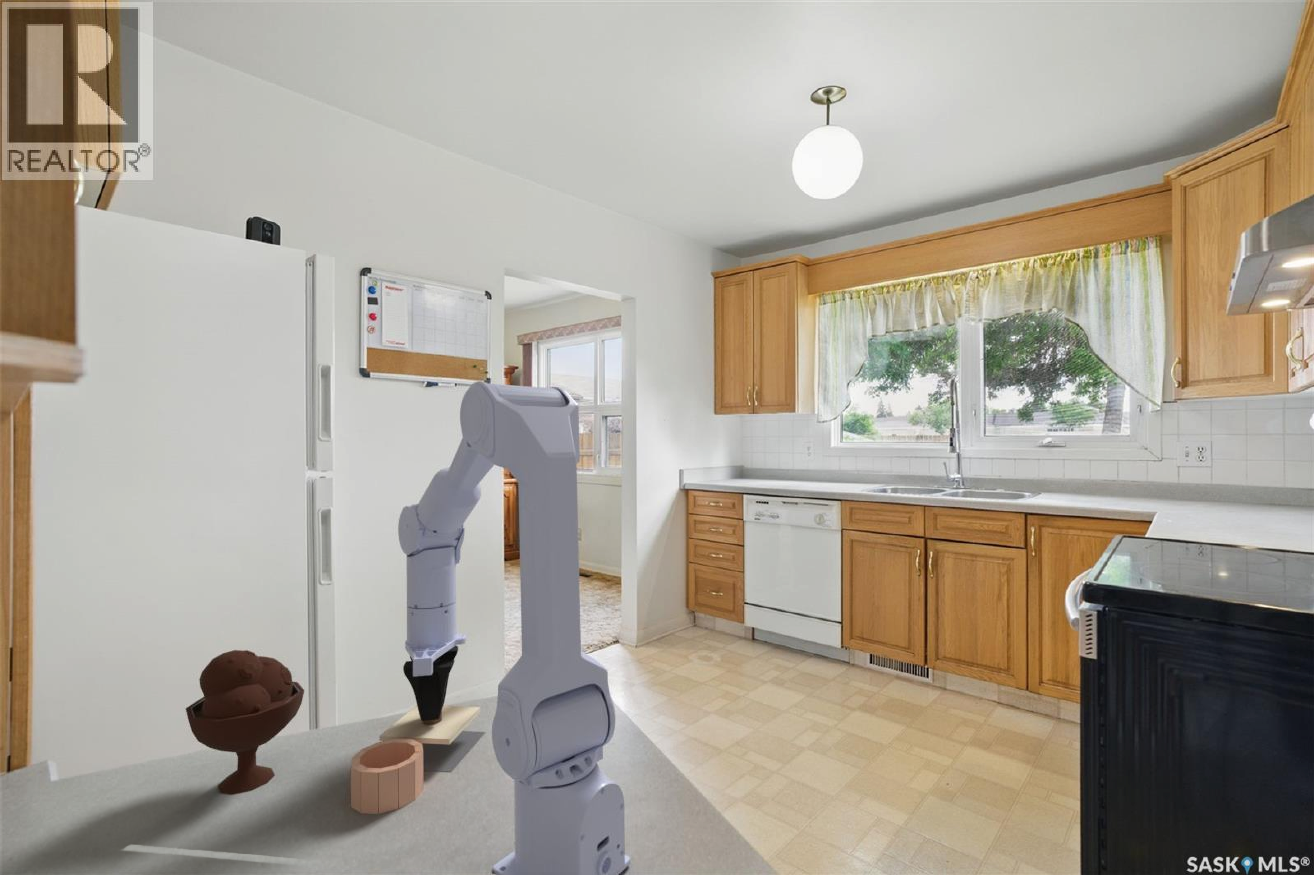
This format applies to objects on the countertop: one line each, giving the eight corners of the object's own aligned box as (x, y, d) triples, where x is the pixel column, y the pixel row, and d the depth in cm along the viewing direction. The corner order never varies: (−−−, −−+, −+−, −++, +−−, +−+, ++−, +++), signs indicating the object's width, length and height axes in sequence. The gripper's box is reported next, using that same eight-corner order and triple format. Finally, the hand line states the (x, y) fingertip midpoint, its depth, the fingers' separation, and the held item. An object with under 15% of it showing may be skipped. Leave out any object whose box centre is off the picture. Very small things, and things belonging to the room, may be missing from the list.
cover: (480, 712, 78) (480, 682, 78) (449, 744, 69) (449, 711, 70) (417, 709, 79) (417, 680, 79) (379, 741, 71) (379, 708, 71)
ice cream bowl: (248, 818, 61) (248, 669, 61) (158, 806, 63) (158, 662, 64) (325, 764, 72) (325, 637, 72) (245, 755, 74) (246, 632, 74)
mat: (485, 735, 78) (485, 732, 78) (451, 775, 69) (451, 771, 69) (415, 731, 80) (415, 728, 80) (372, 770, 70) (372, 767, 70)
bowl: (436, 792, 66) (436, 750, 66) (374, 825, 60) (374, 779, 60) (399, 772, 70) (399, 733, 70) (338, 802, 64) (338, 759, 64)
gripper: (459, 616, 68) (460, 737, 68) (470, 588, 82) (471, 688, 82) (392, 621, 67) (393, 745, 67) (415, 591, 81) (416, 693, 81)
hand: (432, 714), depth 74 cm, fingers closed on cover, 2 cm apart
